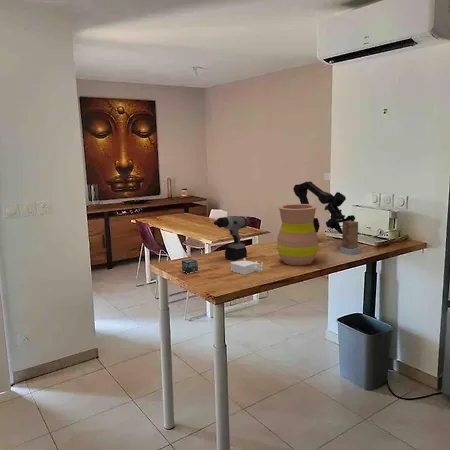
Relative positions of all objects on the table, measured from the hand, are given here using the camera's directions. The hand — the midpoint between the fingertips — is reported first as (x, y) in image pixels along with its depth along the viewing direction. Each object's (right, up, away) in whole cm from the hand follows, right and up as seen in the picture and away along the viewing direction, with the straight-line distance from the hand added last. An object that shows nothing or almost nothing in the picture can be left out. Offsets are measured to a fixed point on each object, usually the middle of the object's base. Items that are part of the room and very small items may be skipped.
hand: (347, 232), depth 244 cm
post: (+1, -8, 0) cm, 9 cm away
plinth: (+1, -11, +1) cm, 11 cm away
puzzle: (-89, -20, -26) cm, 95 cm away
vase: (-31, -15, -14) cm, 38 cm away
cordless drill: (-67, -15, -5) cm, 69 cm away
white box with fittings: (-58, -19, -26) cm, 67 cm away
